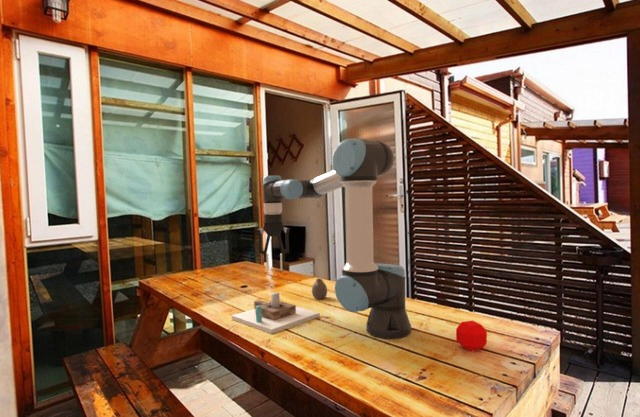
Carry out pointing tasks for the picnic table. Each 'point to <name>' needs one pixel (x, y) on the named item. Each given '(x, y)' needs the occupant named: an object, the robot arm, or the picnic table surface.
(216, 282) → the picnic table surface
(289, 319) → the base
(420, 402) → the picnic table surface
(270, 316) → the collar
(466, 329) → the ball
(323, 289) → the avocado
